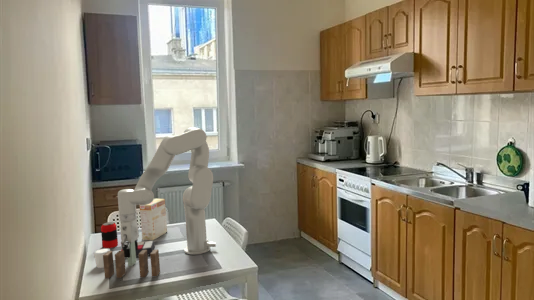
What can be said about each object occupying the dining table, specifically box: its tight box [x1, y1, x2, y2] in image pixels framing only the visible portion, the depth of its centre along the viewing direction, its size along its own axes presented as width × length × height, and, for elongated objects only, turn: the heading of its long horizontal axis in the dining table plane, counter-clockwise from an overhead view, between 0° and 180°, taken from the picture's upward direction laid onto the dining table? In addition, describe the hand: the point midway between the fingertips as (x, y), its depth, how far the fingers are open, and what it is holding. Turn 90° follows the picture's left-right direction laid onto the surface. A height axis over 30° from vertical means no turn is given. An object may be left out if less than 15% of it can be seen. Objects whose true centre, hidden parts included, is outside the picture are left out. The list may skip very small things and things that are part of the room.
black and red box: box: [120, 240, 156, 257], centre depth 204 cm, size 11×4×15 cm
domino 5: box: [149, 248, 161, 277], centre depth 175 cm, size 2×5×10 cm, turn 178°
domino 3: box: [126, 241, 137, 267], centre depth 189 cm, size 2×5×10 cm, turn 178°
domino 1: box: [103, 250, 115, 279], centre depth 176 cm, size 2×5×10 cm, turn 178°
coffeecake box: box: [138, 198, 168, 241], centre depth 229 cm, size 15×7×20 cm, turn 162°
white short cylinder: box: [93, 248, 111, 269], centre depth 188 cm, size 7×7×7 cm
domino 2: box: [114, 250, 127, 279], centre depth 176 cm, size 2×5×10 cm, turn 178°
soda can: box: [100, 221, 119, 249], centre depth 215 cm, size 8×8×12 cm
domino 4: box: [137, 250, 149, 278], centre depth 175 cm, size 2×5×10 cm, turn 178°
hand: (130, 253), depth 188 cm, fingers open, 9 cm apart
